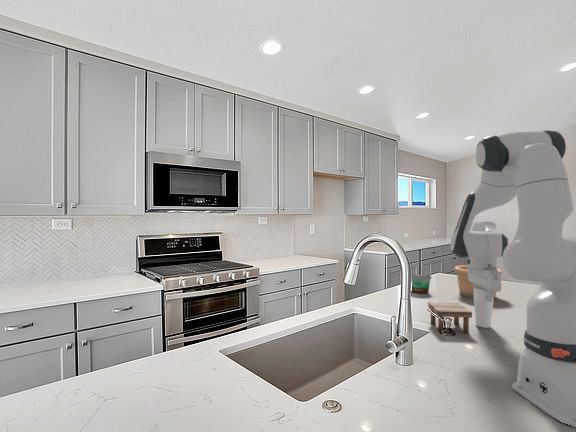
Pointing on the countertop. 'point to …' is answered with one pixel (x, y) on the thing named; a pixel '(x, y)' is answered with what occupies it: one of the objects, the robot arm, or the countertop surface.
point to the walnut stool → (450, 314)
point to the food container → (420, 284)
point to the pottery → (466, 281)
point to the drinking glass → (482, 307)
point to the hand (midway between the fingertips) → (483, 297)
